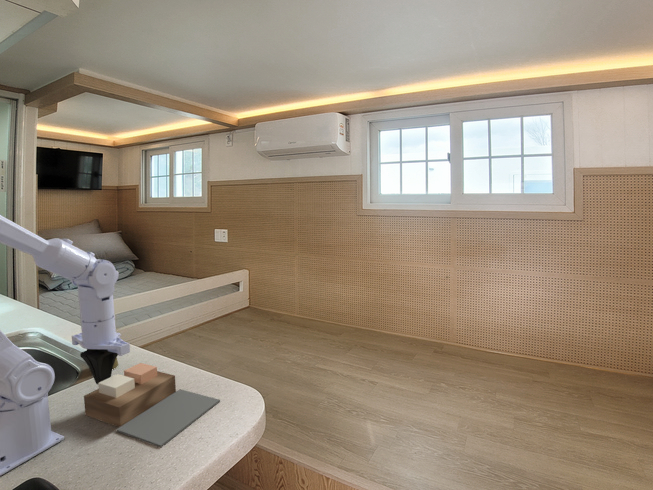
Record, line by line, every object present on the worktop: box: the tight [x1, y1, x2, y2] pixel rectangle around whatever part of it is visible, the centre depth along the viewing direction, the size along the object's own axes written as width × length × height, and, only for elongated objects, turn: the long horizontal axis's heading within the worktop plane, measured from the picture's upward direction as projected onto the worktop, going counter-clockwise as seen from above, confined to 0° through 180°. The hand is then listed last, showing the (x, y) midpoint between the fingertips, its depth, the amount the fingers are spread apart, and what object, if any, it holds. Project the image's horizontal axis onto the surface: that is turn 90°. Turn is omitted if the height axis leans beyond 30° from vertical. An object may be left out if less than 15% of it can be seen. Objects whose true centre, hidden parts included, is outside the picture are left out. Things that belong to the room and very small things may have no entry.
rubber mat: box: [115, 388, 221, 448], centre depth 68 cm, size 15×11×1 cm
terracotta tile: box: [123, 362, 158, 384], centre depth 75 cm, size 4×5×2 cm
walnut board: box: [83, 370, 177, 428], centre depth 72 cm, size 13×10×4 cm
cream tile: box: [97, 373, 135, 398], centre depth 70 cm, size 4×5×2 cm
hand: (103, 382), depth 72 cm, fingers closed
